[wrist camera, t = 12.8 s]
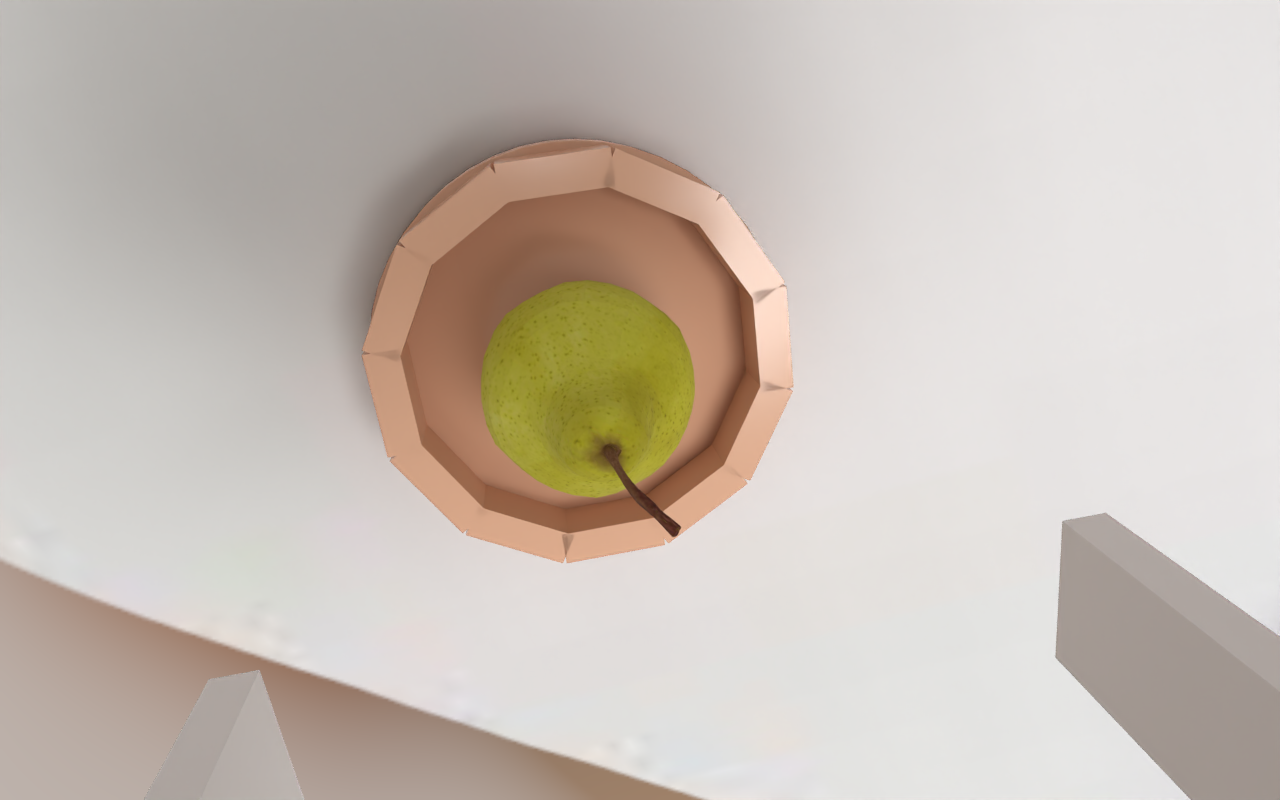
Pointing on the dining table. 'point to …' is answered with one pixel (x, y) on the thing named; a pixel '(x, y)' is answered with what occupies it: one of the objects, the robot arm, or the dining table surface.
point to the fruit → (589, 390)
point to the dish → (543, 258)
